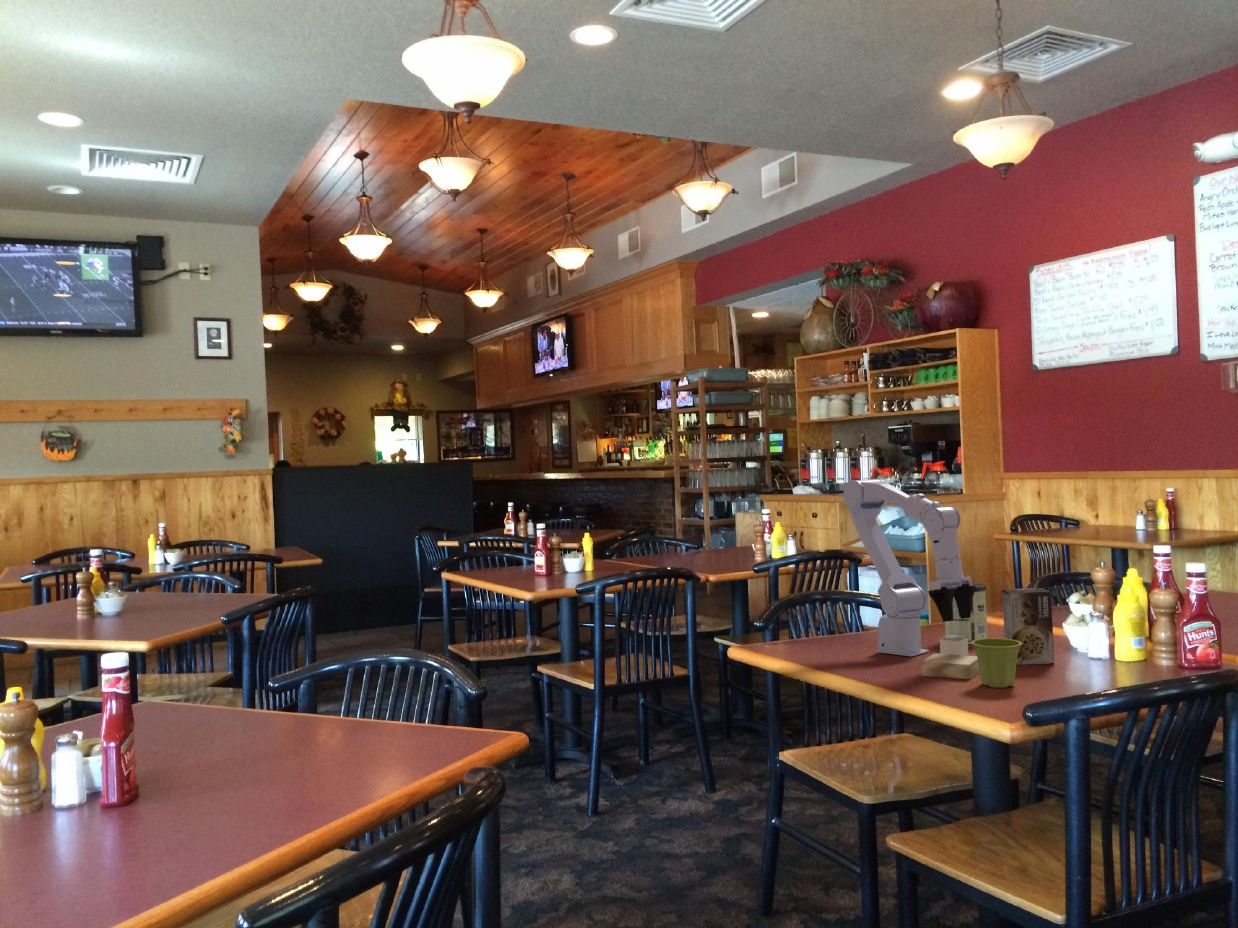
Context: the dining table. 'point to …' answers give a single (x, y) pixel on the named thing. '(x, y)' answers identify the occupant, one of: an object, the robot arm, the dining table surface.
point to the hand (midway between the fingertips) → (957, 619)
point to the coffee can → (976, 623)
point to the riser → (950, 666)
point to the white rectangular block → (954, 645)
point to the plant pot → (997, 661)
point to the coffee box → (1029, 624)
